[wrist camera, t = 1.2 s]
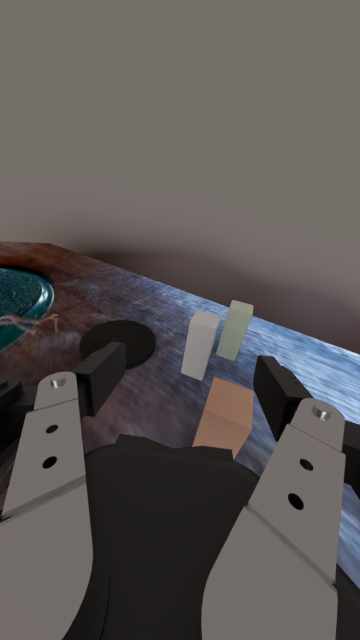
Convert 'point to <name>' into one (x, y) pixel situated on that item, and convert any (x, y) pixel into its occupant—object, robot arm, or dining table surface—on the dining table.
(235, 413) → the terracotta block
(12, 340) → the dining table surface
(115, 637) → the robot arm
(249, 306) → the sage block
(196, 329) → the light grey block
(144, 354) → the wireless charger
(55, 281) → the dining table surface
